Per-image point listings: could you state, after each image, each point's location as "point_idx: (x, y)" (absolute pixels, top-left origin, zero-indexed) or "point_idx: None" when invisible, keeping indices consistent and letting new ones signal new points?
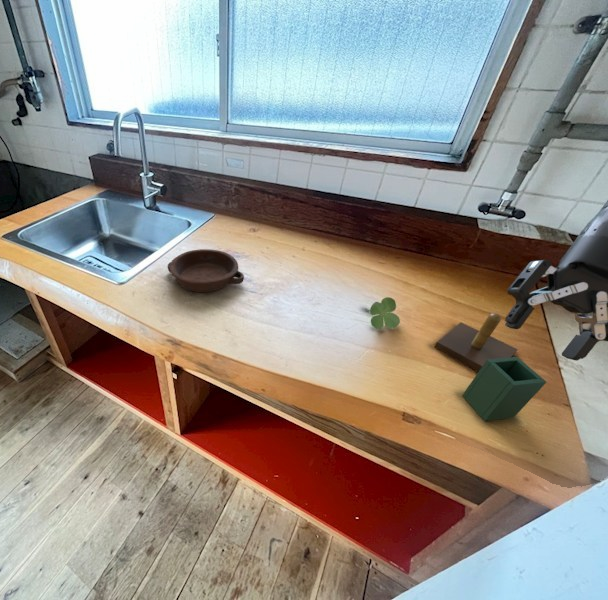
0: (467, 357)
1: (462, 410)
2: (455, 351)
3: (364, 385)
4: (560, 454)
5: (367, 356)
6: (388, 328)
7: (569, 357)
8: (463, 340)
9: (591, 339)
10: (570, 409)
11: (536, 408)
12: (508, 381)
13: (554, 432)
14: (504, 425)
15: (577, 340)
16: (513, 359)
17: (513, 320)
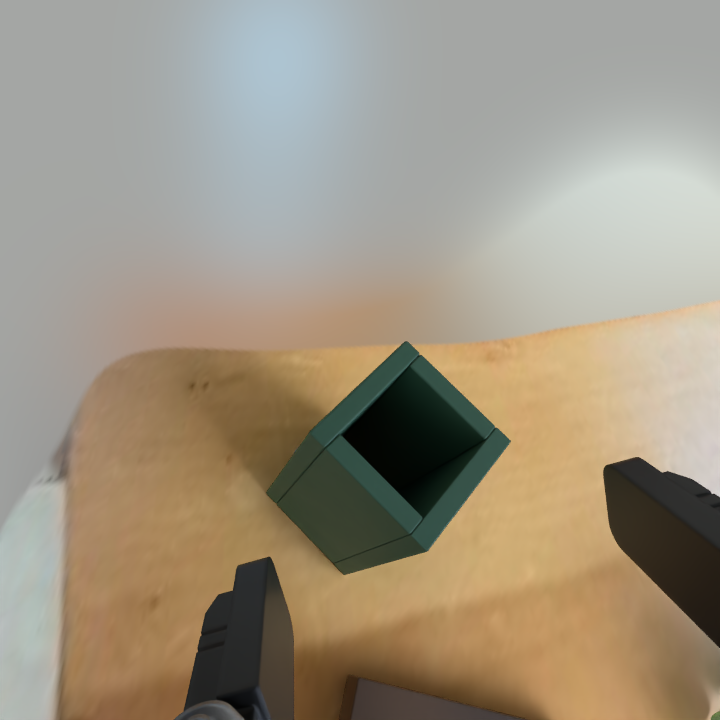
0: (464, 710)
1: None
2: (509, 718)
3: (604, 368)
4: (141, 419)
5: None
6: (715, 714)
7: (275, 573)
8: None
9: (241, 676)
10: (60, 706)
11: (192, 605)
12: (423, 358)
13: (145, 509)
14: (288, 441)
15: (281, 704)
16: (436, 513)
17: (672, 478)
